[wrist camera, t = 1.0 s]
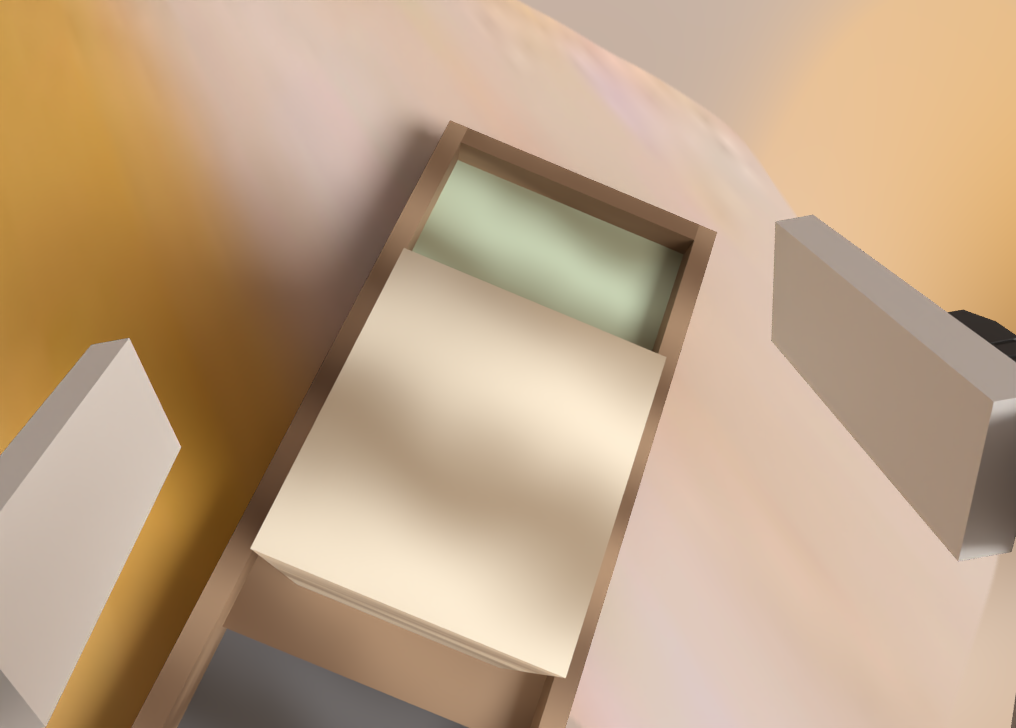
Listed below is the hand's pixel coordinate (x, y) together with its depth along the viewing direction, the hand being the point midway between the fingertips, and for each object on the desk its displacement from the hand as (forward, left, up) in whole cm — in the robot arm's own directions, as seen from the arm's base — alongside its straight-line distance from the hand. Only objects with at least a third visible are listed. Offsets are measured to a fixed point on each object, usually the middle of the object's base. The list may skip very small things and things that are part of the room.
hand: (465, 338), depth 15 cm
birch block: (0, +1, -19) cm, 19 cm away
